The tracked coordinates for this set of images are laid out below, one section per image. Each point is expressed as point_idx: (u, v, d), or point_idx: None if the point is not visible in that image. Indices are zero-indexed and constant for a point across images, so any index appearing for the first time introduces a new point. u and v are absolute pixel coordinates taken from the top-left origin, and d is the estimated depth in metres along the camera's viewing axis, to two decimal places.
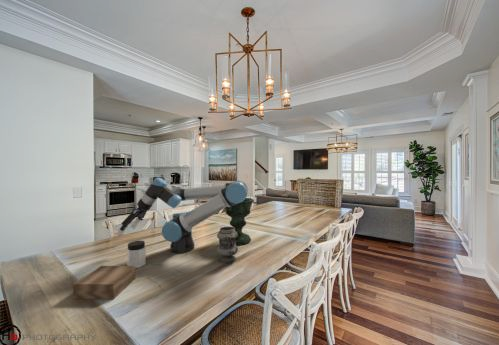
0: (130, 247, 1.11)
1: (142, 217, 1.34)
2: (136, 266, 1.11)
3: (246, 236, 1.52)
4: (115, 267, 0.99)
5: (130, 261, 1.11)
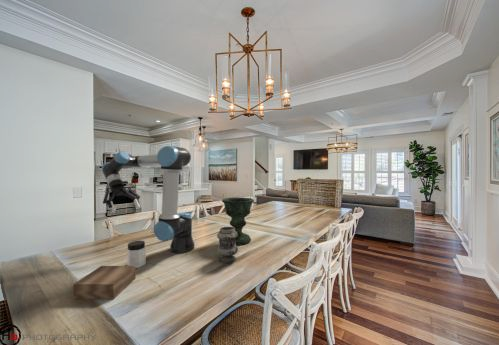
0: (130, 247, 1.11)
1: None
2: (136, 266, 1.11)
3: (246, 236, 1.52)
4: (115, 267, 0.99)
5: (130, 261, 1.11)
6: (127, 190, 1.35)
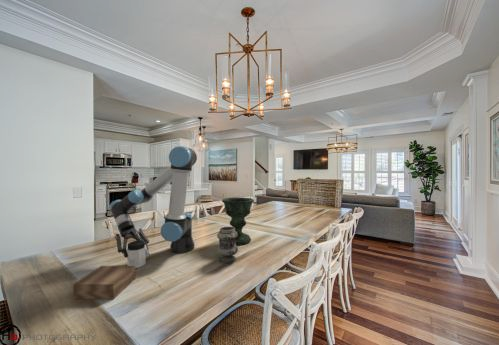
0: (130, 247, 1.11)
1: (146, 241, 1.21)
2: (136, 266, 1.11)
3: (246, 236, 1.52)
4: (115, 267, 0.99)
5: None
6: (137, 232, 1.23)
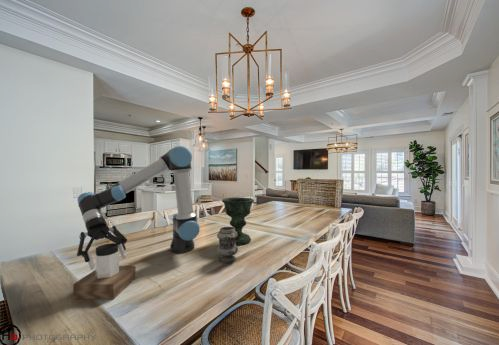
0: (98, 252, 0.89)
1: (124, 240, 1.01)
2: (106, 275, 0.90)
3: (246, 236, 1.52)
4: None
5: (98, 269, 0.89)
6: (111, 230, 1.01)
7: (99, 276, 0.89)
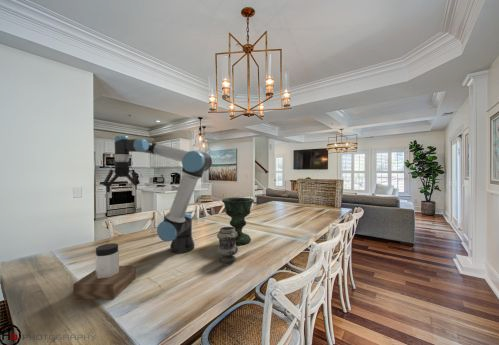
0: (98, 252, 0.89)
1: (137, 182, 1.37)
2: (106, 275, 0.90)
3: (246, 236, 1.52)
4: None
5: (98, 269, 0.89)
6: (130, 172, 1.34)
7: (99, 276, 0.89)
